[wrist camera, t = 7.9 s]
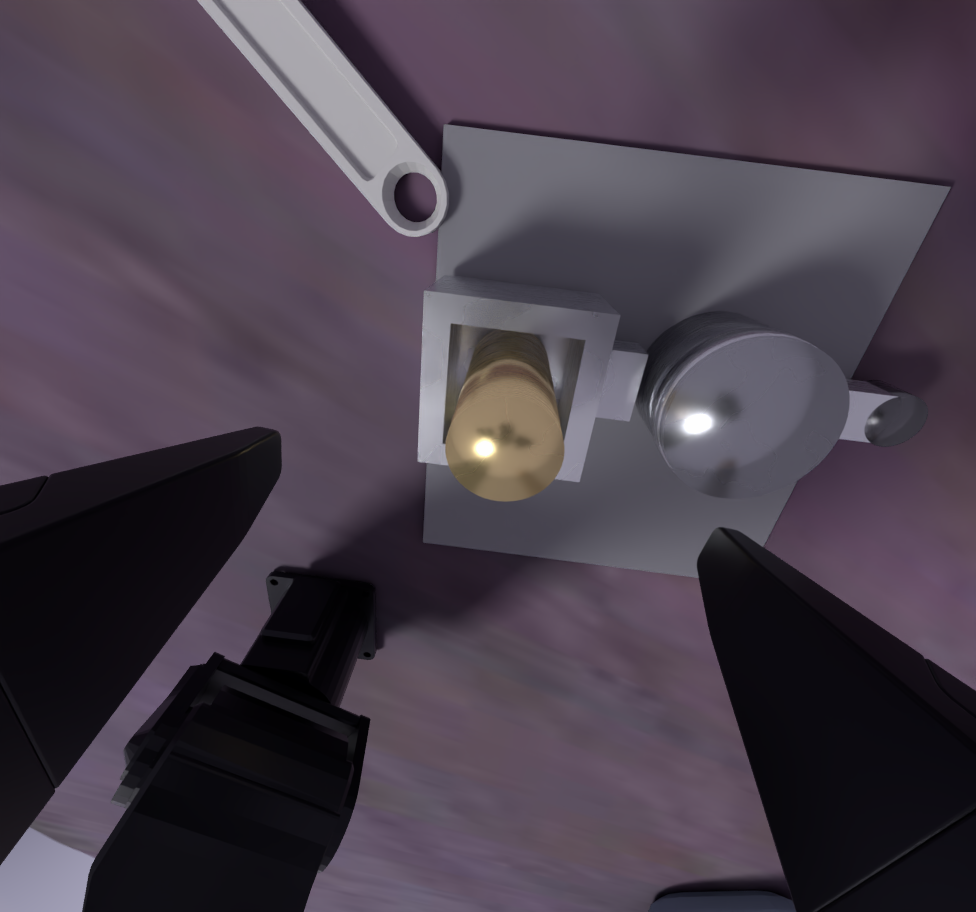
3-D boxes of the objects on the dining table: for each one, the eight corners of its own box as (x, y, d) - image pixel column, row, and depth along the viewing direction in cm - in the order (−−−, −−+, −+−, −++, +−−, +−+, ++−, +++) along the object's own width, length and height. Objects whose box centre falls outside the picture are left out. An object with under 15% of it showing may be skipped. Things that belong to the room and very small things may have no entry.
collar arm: (932, 335, 18) (1044, 368, 14) (854, 469, 21) (928, 526, 17) (444, 274, 18) (424, 290, 14) (436, 416, 21) (417, 461, 17)
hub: (743, 448, 21) (801, 509, 17) (616, 432, 21) (641, 489, 17) (800, 318, 18) (888, 350, 14) (652, 299, 18) (694, 326, 14)
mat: (741, 579, 25) (744, 583, 25) (423, 539, 25) (422, 542, 25) (943, 187, 16) (951, 186, 16) (445, 125, 16) (443, 123, 16)
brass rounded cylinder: (542, 405, 19) (553, 507, 13) (468, 396, 19) (442, 494, 13) (554, 331, 18) (575, 404, 11) (474, 322, 18) (448, 389, 11)
